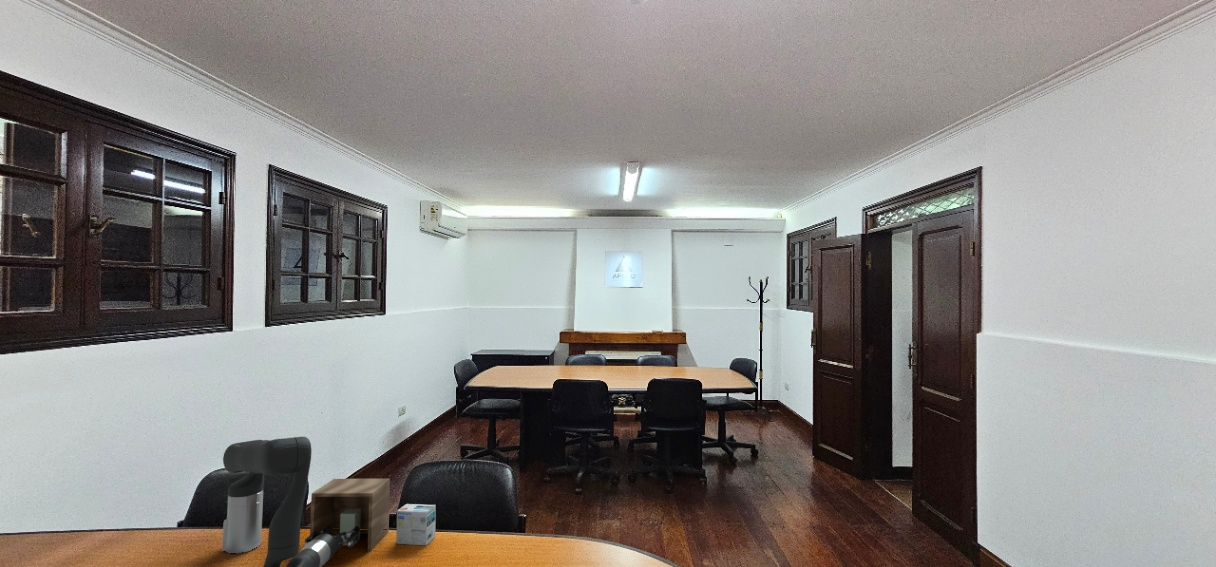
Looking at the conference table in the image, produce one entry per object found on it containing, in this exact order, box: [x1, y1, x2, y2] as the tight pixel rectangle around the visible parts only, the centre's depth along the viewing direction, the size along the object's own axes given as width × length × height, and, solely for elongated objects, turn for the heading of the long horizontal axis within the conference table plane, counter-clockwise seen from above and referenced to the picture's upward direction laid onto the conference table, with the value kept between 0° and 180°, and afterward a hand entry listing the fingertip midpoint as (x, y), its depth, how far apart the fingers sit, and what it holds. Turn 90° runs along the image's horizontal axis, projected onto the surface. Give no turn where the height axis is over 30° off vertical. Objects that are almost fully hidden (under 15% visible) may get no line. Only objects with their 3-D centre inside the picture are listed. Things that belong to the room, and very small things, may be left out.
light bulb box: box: [395, 503, 437, 546], centre depth 169 cm, size 11×7×11 cm, turn 84°
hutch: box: [309, 478, 391, 552], centre depth 168 cm, size 19×14×18 cm
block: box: [340, 508, 361, 540], centre depth 167 cm, size 4×4×10 cm
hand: (344, 529), depth 163 cm, fingers open, 8 cm apart
